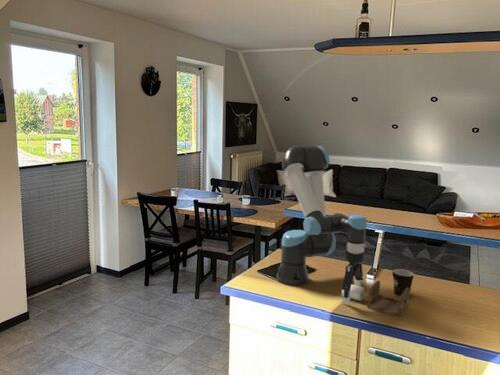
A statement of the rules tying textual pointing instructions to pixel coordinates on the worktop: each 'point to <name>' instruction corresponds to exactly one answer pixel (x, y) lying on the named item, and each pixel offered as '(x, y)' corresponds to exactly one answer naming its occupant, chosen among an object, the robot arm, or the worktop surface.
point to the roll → (356, 292)
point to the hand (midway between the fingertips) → (351, 299)
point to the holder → (387, 301)
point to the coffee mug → (402, 280)
